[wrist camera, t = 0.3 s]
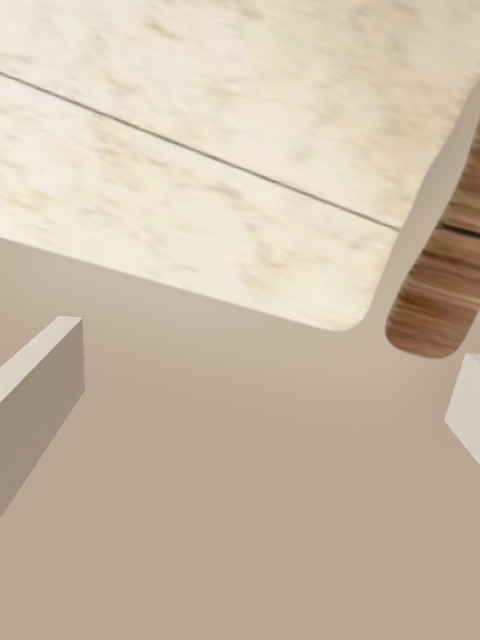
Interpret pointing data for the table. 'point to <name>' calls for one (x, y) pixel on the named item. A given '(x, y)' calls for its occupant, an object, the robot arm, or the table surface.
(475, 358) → the robot arm
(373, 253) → the table surface
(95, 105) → the table surface
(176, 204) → the table surface
